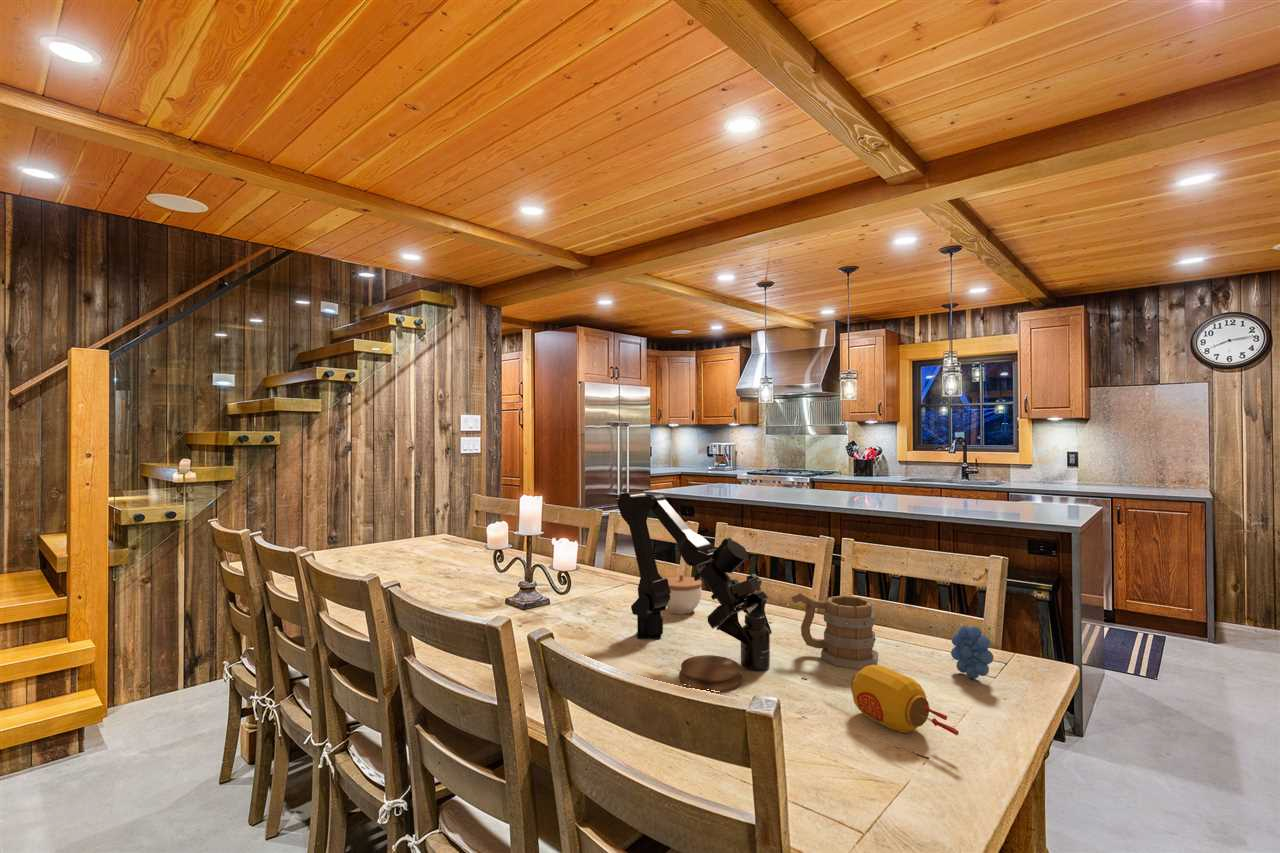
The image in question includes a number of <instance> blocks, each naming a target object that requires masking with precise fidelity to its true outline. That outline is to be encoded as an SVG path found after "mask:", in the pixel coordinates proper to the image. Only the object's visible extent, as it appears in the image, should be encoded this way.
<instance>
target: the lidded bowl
mask: <svg viewBox="0 0 1280 853" xmlns="http://www.w3.org/2000/svg"><path fill="white" fill-rule="evenodd" d="M666 578H667V579H668V584H669V588H670V591H671V593H670V600H669V602H668V604H667V606H666V608H668V610H669V611H670V612H671V613H672V612H673V614H676V613H677V614H679V615H686V614H685V613H688V614H691V613H693V612H694V610H695V609H696V608H697V607H698V606H699V604H700V601H701V598H702V586H703V582H702V579H701V580H697V581H695V580H694V577H693V576H684V574H679V576H669V577H666ZM690 612H691V613H690ZM677 614H676V615H677Z"/></svg>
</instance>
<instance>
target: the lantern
mask: <svg viewBox="0 0 1280 853" xmlns="http://www.w3.org/2000/svg"><path fill="white" fill-rule="evenodd" d="M829 671H830V672H832V673H835V674H837V675H839V676H842V677H843V678H846V679H847V680H850V681H851V683H850V689H851V693H852V694H851V695H852V699H853V703H854V705H855V706H856V707H857V709H858V710H859V711H860V712H861V713H862V715H863V716H865V717H868V718H870V719H872V720H873V721H874V722H876V723H879V724H880V725H882V726H884V727H886V728H888V729H890V730H893V731H896V732H898V731H899V733H903V734H906V733H910V732H912V731H915V730H917V729H918V728H919V727H921V726H923V725H924V724H925V723H926V721H927V720H928V721H929V722H931V723H932V724H933V725H934V727H937V726H938V727H939V728H942V729H944V730H946V731H948V732H949V733H951V734H953V735H955V736H958V735H959V734H960V732H959V730H958V729H956V728H955V727H952V726H951V725H947V724H945V723H942V722H941V721H938V720H937V718H929V714H930V713H931V714H933V715H935V716H937V717H939V718H940V719H942V720H943V721H946V720H947V719H948V716H947V715H946V714H943V713H941V712H938V711H936V710H933V709H931V708H930V703H929V701H928V700H927V699H928V698H927V696H926V692H925V690H924V689H923V687H922V686H921V684H920V683H918V681H916V680H915V679H914V678H911V677H909V676H906V675H904V674H903V673H900V672H897V671H895V670H892V669H889V668H888V667H885V666H883V665H879V664H877V665H870V666H866V667H864V668H863V669H859V671H857V672H856V673H855V674H854V675H853V677H852V678H850V677H848V676H846V675H844V674H843V673H840V672H838V671H836V670H833V669H832V668H830V669H829Z"/></svg>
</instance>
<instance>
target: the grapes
mask: <svg viewBox="0 0 1280 853" xmlns="http://www.w3.org/2000/svg"><path fill="white" fill-rule="evenodd" d="M982 633H983V632H982V630H981V628H980V627H978V626H976V625H972V626H970V627H969V626H968V625H961V626H959V628H958V632H957V633H955V634H953V635H952V638H951V643H952V644H953V648H952V649H951V651H950V655H951V658H953V660H955V661H957V662H956V669H957V671H959V672H960V673H963V674H966V676H967V677H968V678H969V679H971V678H972V679H971V680H977V678H979V676H980V677H985V676H987V675H988V674H989V672H990V666H989V665H990V664H991V663H993V661H994V655H993V652H991V651H990V650H989V648H991V647H990V646H991V640H990V638H989V637H988V636H986V635H983V634H982Z"/></svg>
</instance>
